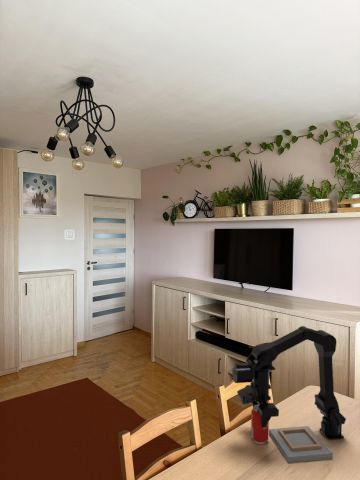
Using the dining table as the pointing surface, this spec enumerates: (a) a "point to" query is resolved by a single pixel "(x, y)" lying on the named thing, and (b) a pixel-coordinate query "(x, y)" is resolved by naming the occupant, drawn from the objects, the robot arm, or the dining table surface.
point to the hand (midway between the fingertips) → (260, 422)
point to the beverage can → (258, 427)
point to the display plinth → (299, 444)
